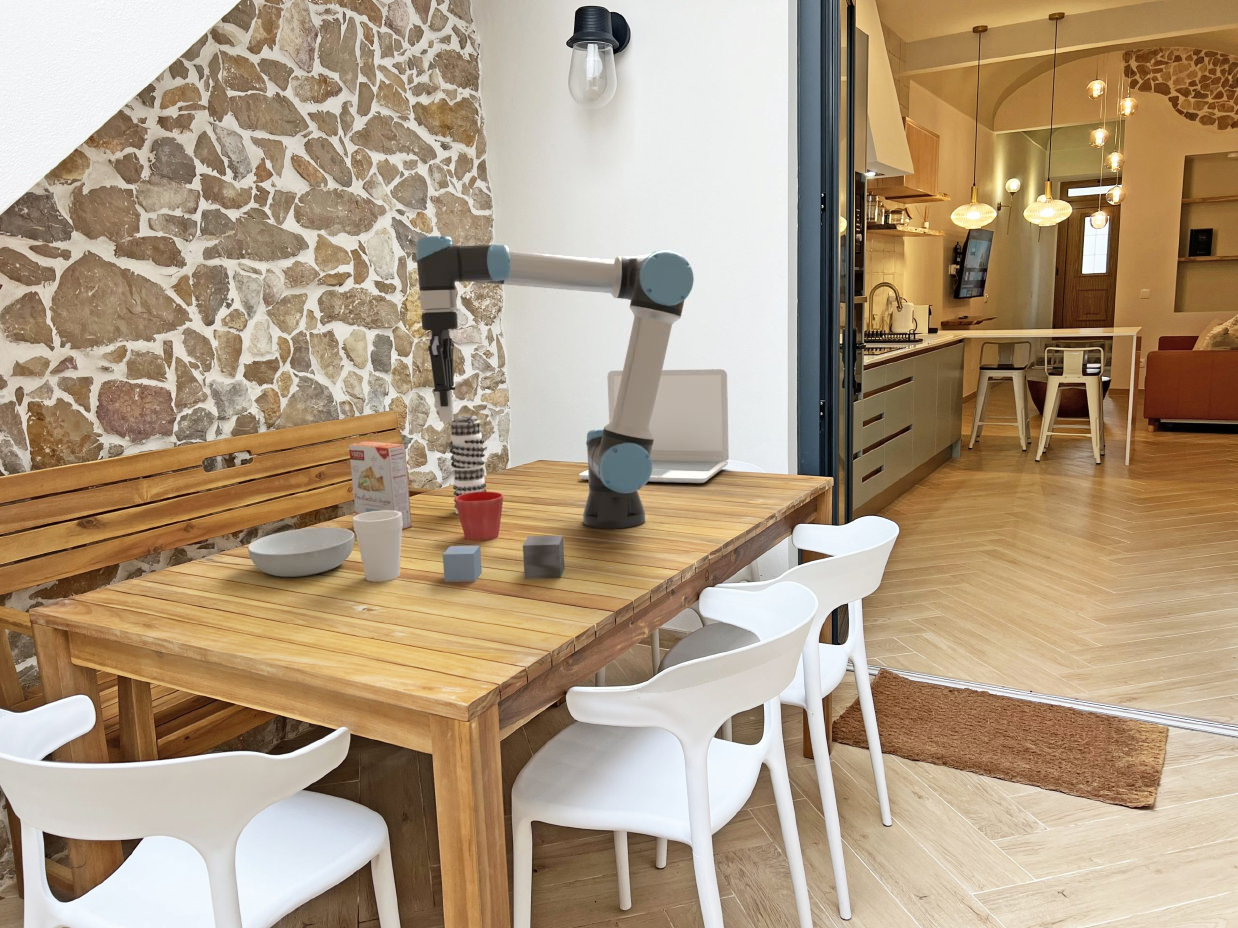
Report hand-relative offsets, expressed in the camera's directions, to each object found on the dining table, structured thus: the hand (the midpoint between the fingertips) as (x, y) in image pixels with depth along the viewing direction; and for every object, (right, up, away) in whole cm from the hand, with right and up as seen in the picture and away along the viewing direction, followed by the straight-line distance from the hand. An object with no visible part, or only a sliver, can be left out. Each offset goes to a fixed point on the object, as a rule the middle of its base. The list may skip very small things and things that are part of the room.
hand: (446, 420), depth 199 cm
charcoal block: (+23, -31, -18) cm, 43 cm away
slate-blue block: (+7, -32, -19) cm, 38 cm away
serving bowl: (-28, -32, -9) cm, 43 cm away
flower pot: (+6, -26, +14) cm, 30 cm away
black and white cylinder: (-1, -22, +41) cm, 47 cm away
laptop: (+49, -12, +86) cm, 99 cm away
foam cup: (-9, -32, -17) cm, 38 cm away
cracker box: (-21, -25, +27) cm, 42 cm away
